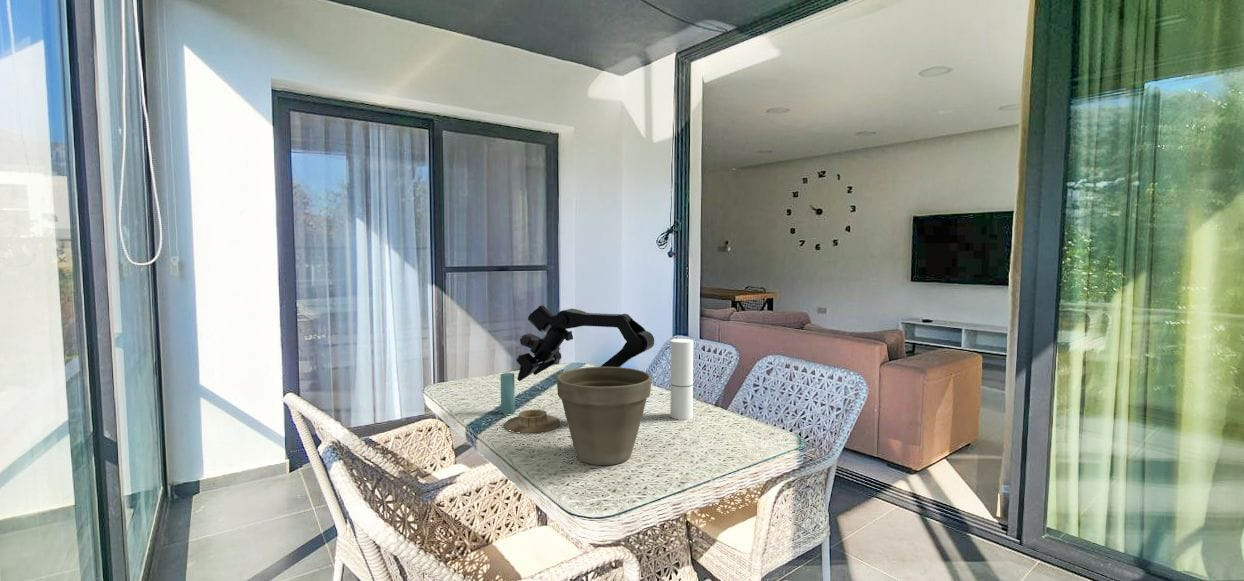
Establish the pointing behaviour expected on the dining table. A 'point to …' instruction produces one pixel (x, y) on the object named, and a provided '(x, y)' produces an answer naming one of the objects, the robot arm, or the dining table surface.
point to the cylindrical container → (681, 379)
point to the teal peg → (507, 393)
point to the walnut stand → (532, 422)
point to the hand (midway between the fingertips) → (526, 377)
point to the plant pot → (603, 411)
